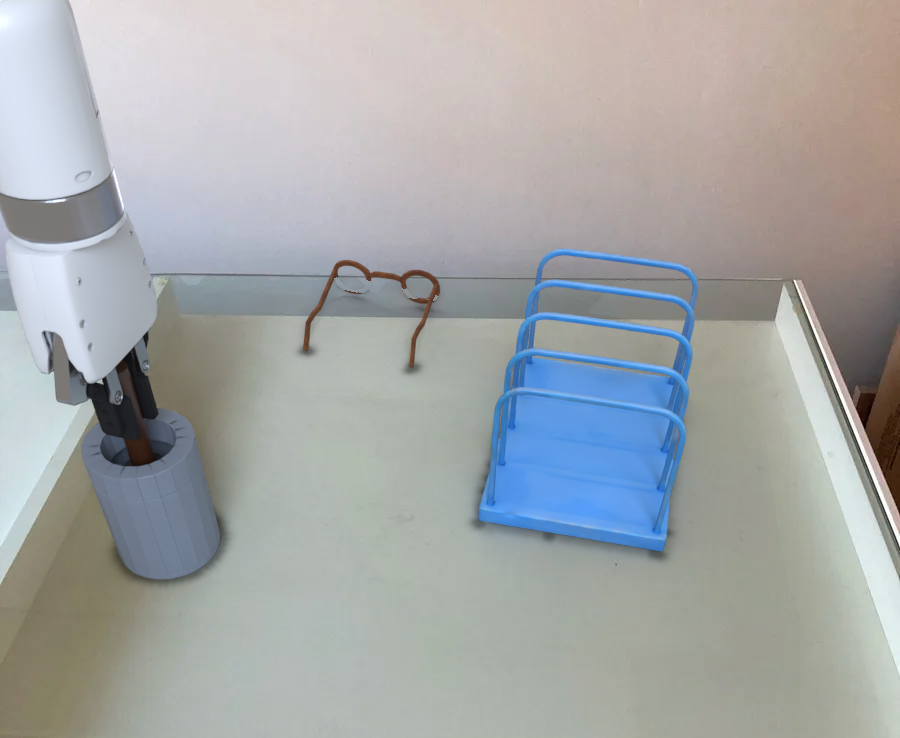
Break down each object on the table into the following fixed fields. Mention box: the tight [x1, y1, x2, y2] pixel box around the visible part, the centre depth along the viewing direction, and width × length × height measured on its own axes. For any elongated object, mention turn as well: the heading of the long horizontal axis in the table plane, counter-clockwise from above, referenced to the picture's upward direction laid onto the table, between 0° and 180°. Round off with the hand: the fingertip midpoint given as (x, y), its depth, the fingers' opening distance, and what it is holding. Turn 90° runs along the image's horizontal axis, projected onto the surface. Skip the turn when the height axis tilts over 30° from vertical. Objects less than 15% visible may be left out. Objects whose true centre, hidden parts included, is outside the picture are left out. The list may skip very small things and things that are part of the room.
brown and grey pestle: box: [115, 360, 163, 466], centre depth 74 cm, size 4×4×14 cm
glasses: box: [302, 259, 441, 369], centre depth 104 cm, size 13×13×5 cm
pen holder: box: [80, 407, 221, 580], centre depth 79 cm, size 9×9×12 cm
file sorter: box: [477, 248, 699, 552], centre depth 86 cm, size 25×17×15 cm
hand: (131, 423), depth 73 cm, fingers closed on brown and grey pestle, 2 cm apart
